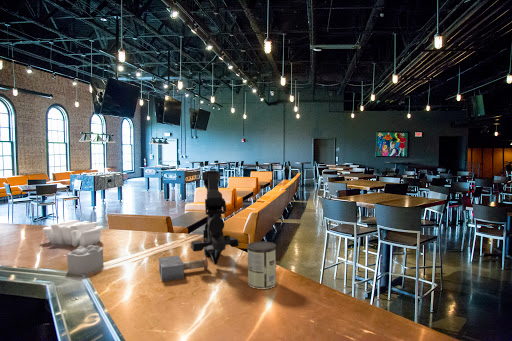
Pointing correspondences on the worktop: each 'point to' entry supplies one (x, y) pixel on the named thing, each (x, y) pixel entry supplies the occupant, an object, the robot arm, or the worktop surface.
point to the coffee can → (261, 265)
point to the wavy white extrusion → (74, 233)
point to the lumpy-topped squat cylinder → (85, 259)
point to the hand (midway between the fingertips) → (215, 264)
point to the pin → (196, 264)
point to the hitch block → (171, 268)
